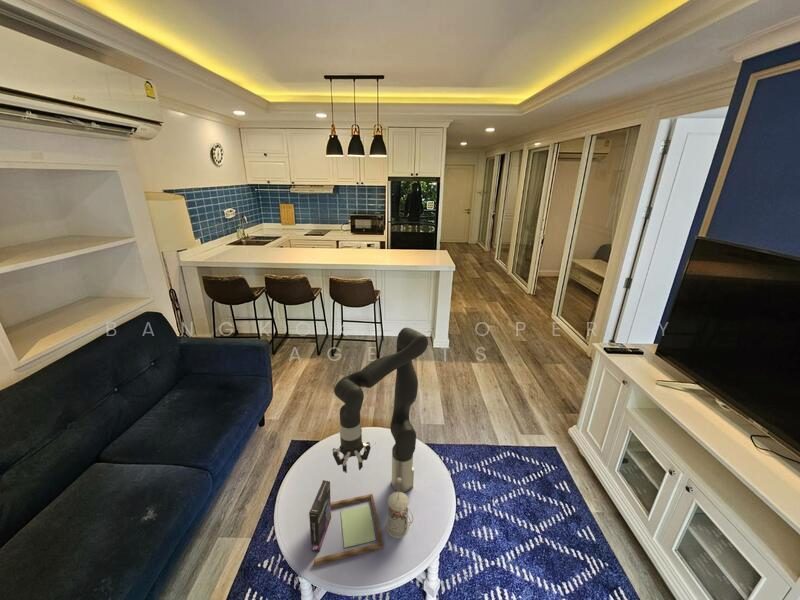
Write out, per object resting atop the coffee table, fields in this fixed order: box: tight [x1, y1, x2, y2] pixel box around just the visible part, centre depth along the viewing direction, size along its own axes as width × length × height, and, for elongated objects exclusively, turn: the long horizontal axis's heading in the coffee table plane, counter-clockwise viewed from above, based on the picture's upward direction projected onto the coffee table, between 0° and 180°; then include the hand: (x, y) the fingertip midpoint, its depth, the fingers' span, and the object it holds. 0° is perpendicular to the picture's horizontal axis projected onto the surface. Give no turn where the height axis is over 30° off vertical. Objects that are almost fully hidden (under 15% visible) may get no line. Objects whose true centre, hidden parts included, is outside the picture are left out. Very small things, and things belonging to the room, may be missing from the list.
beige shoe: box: [385, 478, 414, 539], centre depth 125 cm, size 10×12×25 cm
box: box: [308, 479, 332, 553], centre depth 124 cm, size 14×4×20 cm, turn 173°
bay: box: [313, 493, 384, 567], centre depth 129 cm, size 25×22×2 cm
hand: (352, 469), depth 120 cm, fingers open, 4 cm apart
